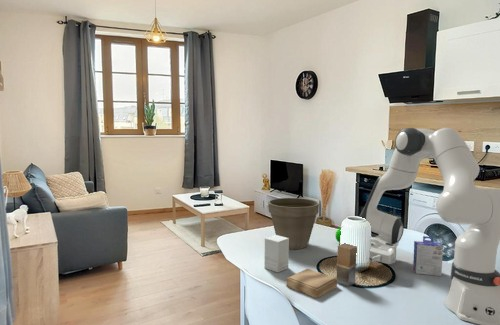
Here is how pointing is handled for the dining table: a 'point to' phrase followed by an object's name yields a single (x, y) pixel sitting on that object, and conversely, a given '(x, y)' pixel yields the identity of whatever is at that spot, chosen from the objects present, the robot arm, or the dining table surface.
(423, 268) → the ink cartridge box
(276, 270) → the supplement box
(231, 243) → the dining table surface
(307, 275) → the oak plinth
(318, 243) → the dining table surface
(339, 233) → the ornament
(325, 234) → the dining table surface
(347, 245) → the block
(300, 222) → the plant pot
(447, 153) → the robot arm
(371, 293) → the dining table surface
